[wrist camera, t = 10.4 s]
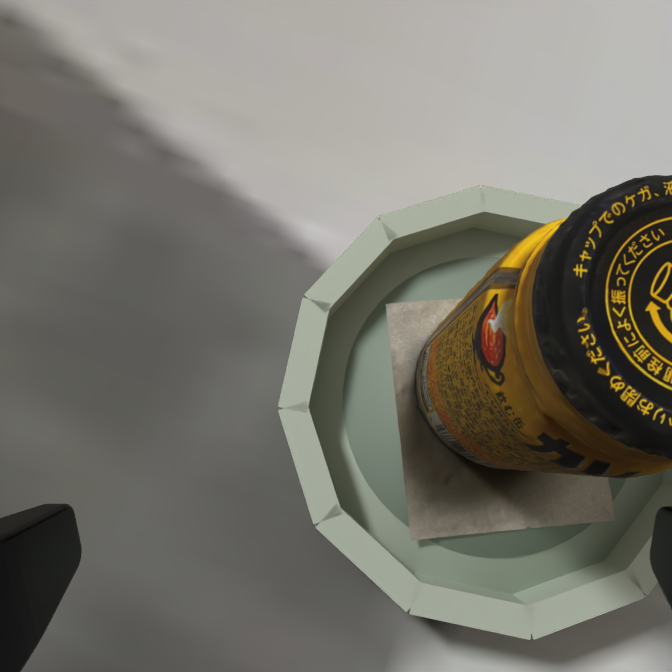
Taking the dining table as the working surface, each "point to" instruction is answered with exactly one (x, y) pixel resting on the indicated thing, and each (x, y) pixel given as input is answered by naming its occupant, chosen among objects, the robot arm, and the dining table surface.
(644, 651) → the dining table surface
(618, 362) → the condiment
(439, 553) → the round tray
